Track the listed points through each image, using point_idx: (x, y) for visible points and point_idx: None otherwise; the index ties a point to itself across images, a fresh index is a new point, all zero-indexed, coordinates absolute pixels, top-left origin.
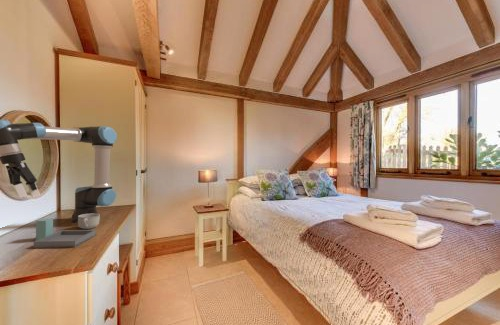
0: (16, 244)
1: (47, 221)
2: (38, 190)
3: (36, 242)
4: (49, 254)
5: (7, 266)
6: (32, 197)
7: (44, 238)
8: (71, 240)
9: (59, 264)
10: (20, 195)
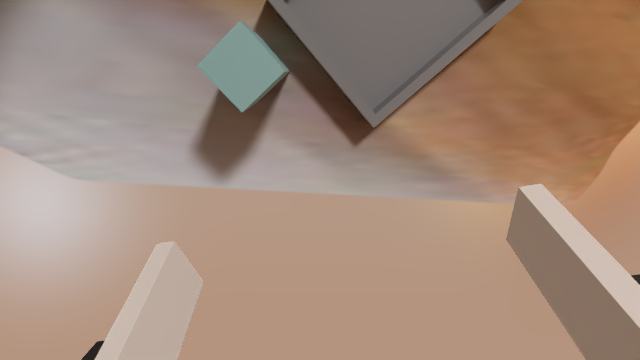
0: (264, 159)
1: (276, 61)
2: (593, 239)
3: (382, 119)
4: (497, 96)
5: (489, 196)
6: (508, 241)
7: (352, 86)
8: (503, 7)
9: (623, 93)
10: (189, 296)
